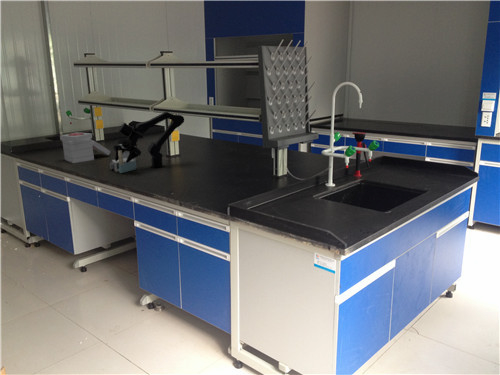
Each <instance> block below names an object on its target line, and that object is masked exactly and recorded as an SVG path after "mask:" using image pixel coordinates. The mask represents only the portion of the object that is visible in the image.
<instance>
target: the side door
mask: <svg viewBox="0 0 500 375" xmlns="http://www.w3.org/2000/svg"><path fill="white" fill-rule="evenodd" d="M118 156H119V171H118V172H119V174H123V173H128V172H130V171H135V170H137V169H138V168H137V160H136V161H131V162H128V163H123V155H122V150H119V151H118Z"/></svg>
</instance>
